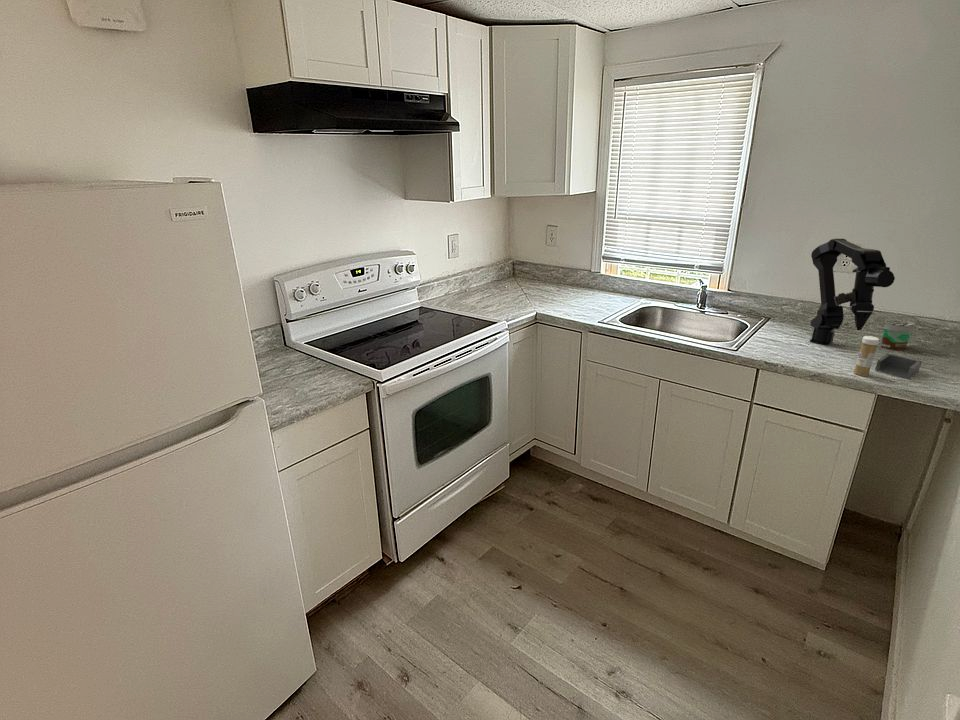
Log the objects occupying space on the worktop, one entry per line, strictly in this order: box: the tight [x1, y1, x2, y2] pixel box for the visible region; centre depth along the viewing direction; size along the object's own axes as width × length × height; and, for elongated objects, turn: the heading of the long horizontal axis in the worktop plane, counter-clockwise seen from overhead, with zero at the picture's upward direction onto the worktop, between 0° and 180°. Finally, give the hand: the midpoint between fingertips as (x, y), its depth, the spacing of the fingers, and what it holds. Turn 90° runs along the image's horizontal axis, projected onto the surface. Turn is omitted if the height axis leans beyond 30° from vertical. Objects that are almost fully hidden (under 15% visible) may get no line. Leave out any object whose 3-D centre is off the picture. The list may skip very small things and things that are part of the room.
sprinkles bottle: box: [853, 335, 880, 377], centre depth 178 cm, size 5×5×13 cm
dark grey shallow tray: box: [874, 353, 923, 380], centre depth 181 cm, size 10×10×4 cm
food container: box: [880, 320, 916, 351], centre depth 200 cm, size 12×6×10 cm, turn 106°
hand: (858, 328), depth 189 cm, fingers open, 9 cm apart
